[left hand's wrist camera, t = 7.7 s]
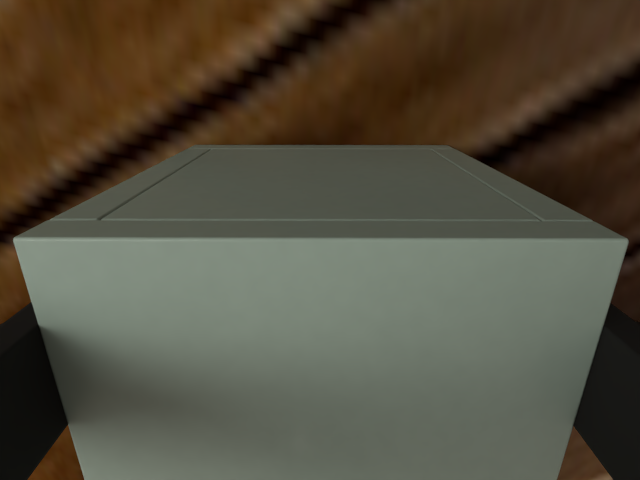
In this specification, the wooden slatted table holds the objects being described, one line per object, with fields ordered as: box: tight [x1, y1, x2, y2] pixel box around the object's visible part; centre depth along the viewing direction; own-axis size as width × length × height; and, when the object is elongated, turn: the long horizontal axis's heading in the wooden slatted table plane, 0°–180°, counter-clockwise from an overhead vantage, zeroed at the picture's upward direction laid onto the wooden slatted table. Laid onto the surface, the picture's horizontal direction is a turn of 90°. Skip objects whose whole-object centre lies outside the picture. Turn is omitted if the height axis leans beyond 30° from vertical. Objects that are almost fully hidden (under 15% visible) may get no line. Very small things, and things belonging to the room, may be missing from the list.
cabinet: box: [13, 145, 629, 480], centre depth 17 cm, size 20×12×12 cm, turn 0°
